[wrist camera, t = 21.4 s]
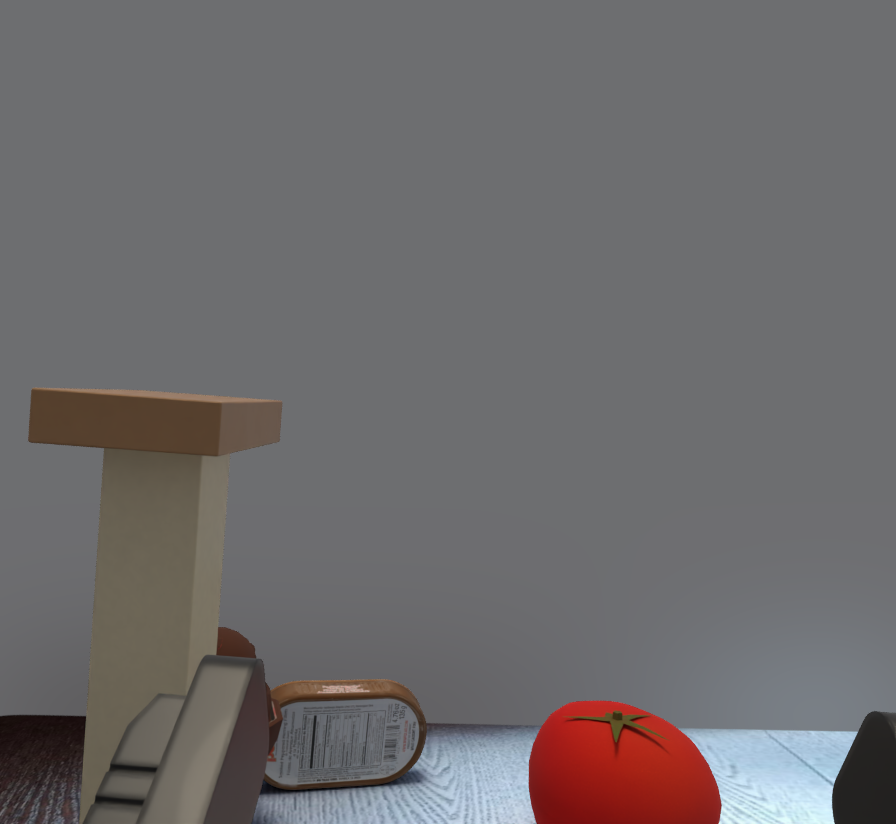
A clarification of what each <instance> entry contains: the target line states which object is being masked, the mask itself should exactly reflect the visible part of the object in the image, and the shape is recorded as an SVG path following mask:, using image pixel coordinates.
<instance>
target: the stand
mask: <svg viewBox="0 0 896 824" xmlns="http://www.w3.org/2000/svg"><path fill="white" fill-rule="evenodd" d="M281 412H282V401H277V400H263V399H251V398H250V399H249V398H236V397H224V396H210V395H196V394H183V393H170V392H169V393H168V392H155V391H142V390H108V389H65V388H64V389H63V388H33V389H32V391H31V407H30V422H29V437H28V441H29V442H31V443H44V444H57V445H71V446H84V447H98V448H104V459H103V473H102V488H101V504H100V518H99V533H98V549H97V563H96V578H95V594H94V610H93V624H92V639H91V654H90V668H89V683H88V684H89V685H88V699H87V715H86V729H85V744H84V759H83V774H82V789H81V804H80V819H79V824H83V821H84V819H85V817H86V815H87V813H88V811H89V808H90V806H91V804H94V802H95V795H96V793H97V791H98V789H99V786H100V784H101V782H102V780H103V778H104V776H105V773H106V772H108V771H109V768H110V762H111V760H112V758H113V756H114V754H115V752H116V749H117V747H118V745H119V743H120V741H121V738H122V736H123V734H124V732H125V730H126V727H127V725H128V724H129V723H130V722H131V721H132V720H133V719H134V718H135V717H136V716H137V715H138V714H139V713H140V712H141V711H142V710H143V709H144V708H145V707H146V706H147V705H148V704H149V703H150V702H151V701H152V699H153V698H154V697H155V696H156V695H157V694H158V693H162V694H174V695H187V693H188V691H189V688H190V686H191V683H192V681H193V678H194V676H195V673H196V671H197V668H198V666H199V664H200V662H201V660H202V658H203V657H204V656H205V655H216V651H217V637H218V622H219V607H220V593H221V579H222V564H223V550H224V549H223V548H224V536H225V535H224V534H225V520H226V507H227V492H228V478H229V463H230V453H233V452H238V451H242V450H247V449H251V448H255V447H259V446H264V445H267V444H272V443H276V442H279V441H280V427H281Z"/></svg>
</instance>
